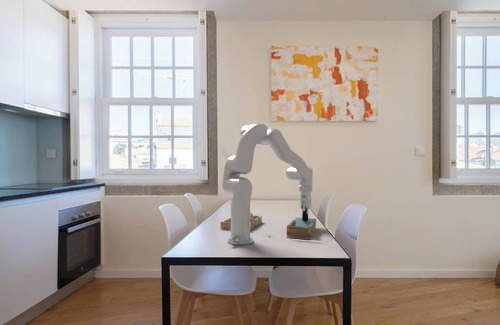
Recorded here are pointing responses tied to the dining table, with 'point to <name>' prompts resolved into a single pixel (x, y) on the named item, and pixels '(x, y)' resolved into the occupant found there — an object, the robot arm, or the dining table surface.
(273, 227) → the dining table surface
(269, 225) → the dining table surface
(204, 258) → the dining table surface
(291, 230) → the box
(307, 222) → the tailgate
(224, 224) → the vegetable crate
